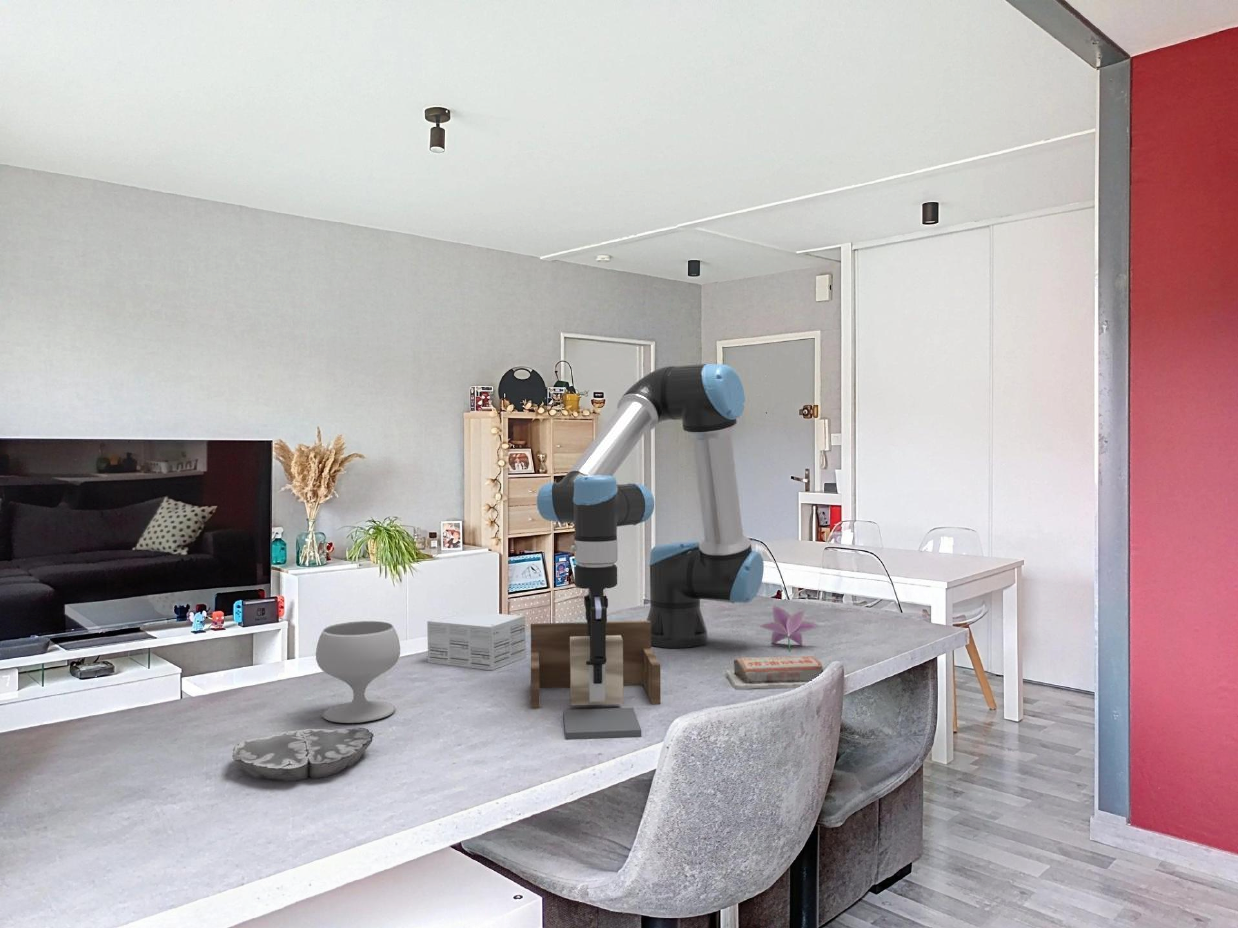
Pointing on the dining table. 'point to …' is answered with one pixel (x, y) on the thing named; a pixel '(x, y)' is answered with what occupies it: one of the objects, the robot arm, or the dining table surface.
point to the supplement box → (476, 639)
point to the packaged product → (773, 672)
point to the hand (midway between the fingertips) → (596, 696)
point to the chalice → (358, 665)
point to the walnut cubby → (555, 637)
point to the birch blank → (581, 670)
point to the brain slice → (302, 753)
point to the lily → (788, 626)
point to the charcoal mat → (601, 723)
